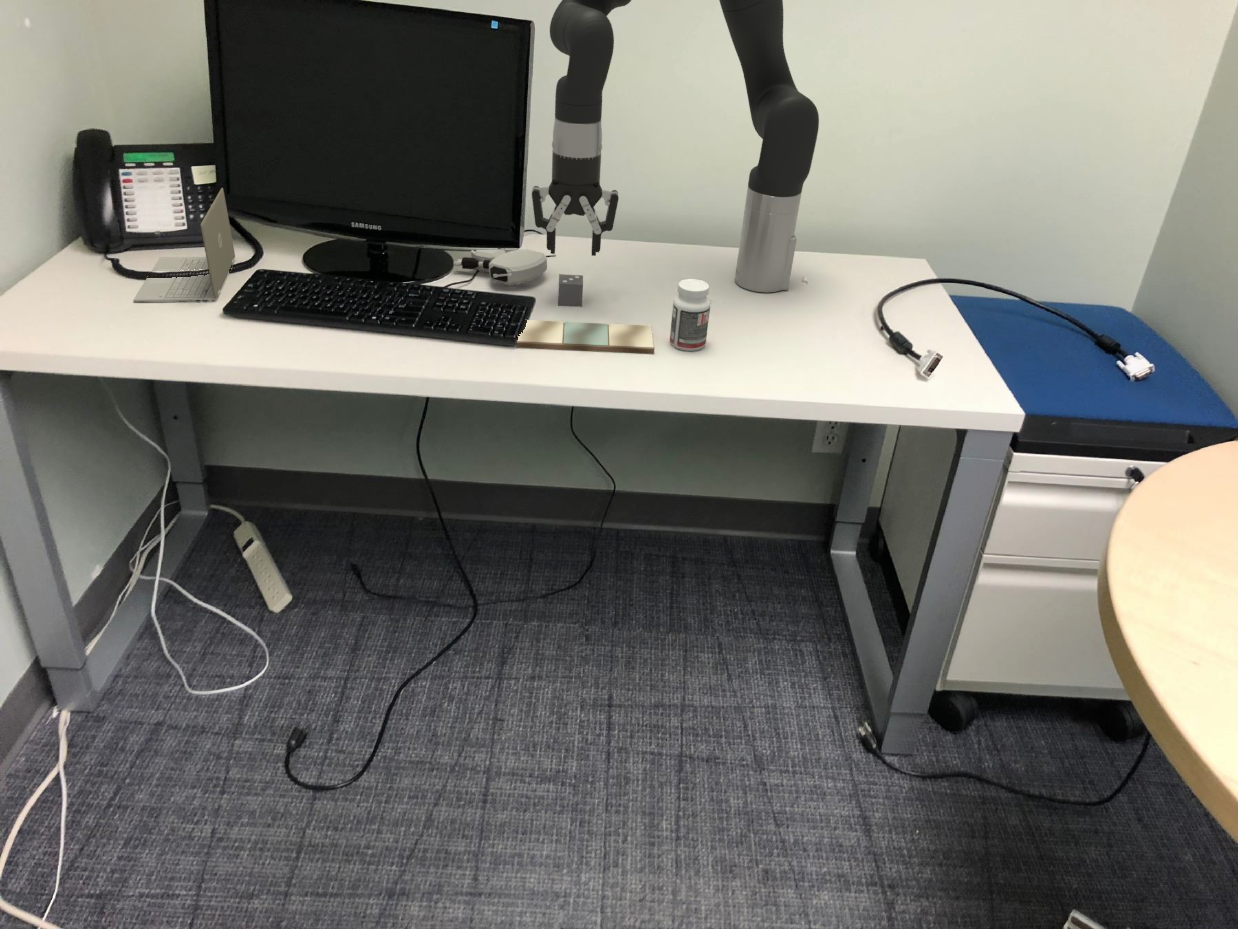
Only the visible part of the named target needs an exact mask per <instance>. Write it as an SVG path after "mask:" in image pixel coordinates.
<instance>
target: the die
mask: <svg viewBox="0 0 1238 929" xmlns="http://www.w3.org/2000/svg"><path fill="white" fill-rule="evenodd" d="M558 275H559V276H558V296H557V307H573V308H574V307H575V308H576V307H577V308H582V307H583V294H584V293H583V292H584V275H583V274H582V275H581V274H558Z"/></svg>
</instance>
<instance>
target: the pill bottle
mask: <svg viewBox="0 0 1238 929" xmlns="http://www.w3.org/2000/svg"><path fill="white" fill-rule="evenodd" d="M677 285H678V286H677V292H678V294H677V295H676V296H675V297H674V299H673V303H672V313H671V322H670V333H669V343H670V344H671V345H672V346H673V347H674V348H675V349H678V350H681V351H684V352H686V351H687V352H694V351H699V350H702V349H703V348H704V347H705V346H706V343H707V336H708V330H709V329H708V327H709V320H710V311H711V301H710V299H709V298H708V295H709V294H710V292H709V291H710V285H709V284H708V283H707V282H706V281H703V280H701V279H696V278H686V279H685V278H684V279H681V280H680V281H679V282H678V284H677Z"/></svg>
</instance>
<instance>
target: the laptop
mask: <svg viewBox="0 0 1238 929" xmlns="http://www.w3.org/2000/svg"><path fill="white" fill-rule="evenodd" d="M224 191H225V190H224V188H223V187H221V188H220V190H219V192H218V193H217V195H216V197H215V198H214V200H213V202H212V203H211V206H210V207H209V209H208V210H207V212H206V214H205V216H204V217H203V219H202V221H201V222H200V223H199V224H200V226H199V227H200V231H201V236H202V241H203V247H204V252H205V256H186V257H185V256H161V257H159V258H158V260H157V261H156V263H155V264H154V266H153V268H152V269H151V271H180V270H181V269H182V270H184V271H186V270H188V269H189V270H193V271H194V269H195V271H196V270H199V269H209V274H207V275H205V276H204V275H198V276H191V277H177V278H176V277H172V278H147V277H146V279H145V281H144V282H143V284H142V285H141V287H140V288H139V290H138V291H137V294H136V295H135V296H134V298H133V299H132V301H133V302H149V303H216V302H217V301H218V300H219V295H221V293H222V290H223V289H224V286H225V284H226V281H227V279H228V277H229V276H230V273H229V269H230V267H231V265H232V266H234V263H235V261H236V253H235V246H234V242H233V241H234V240H233V236H232V232H231V231H232V230H231V225H230V219H229V213H228V207H227V202H226V197H225V192H224ZM182 270H181V271H182Z"/></svg>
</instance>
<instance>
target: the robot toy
mask: <svg viewBox="0 0 1238 929" xmlns="http://www.w3.org/2000/svg"><path fill="white" fill-rule="evenodd" d="M557 256H558V255H557V254H556V253H555V254H549V255H545V253H544V252H540V251H536V250H532V249H528V248H524V249H515V250H510V251H508V252H507V251H506V249H505V250H475V249H472V250H470V257H466V256H464V257H462V259H461V258H457V259H455V260H454V261H453V265H454V266H456V267H460V266H461V268H462V270H474V269H477V271H478V272H482V273H485V274H486V273H489V276H490V278H491V279H492V280H493V281H497V282H500V283H502V284H503V285H505V286H507V287H514V286H517V285H518V284H521V283H525V282H528V281H531V280H534V279H535V280H536V278H538V277H540V276H542V274H544V273H545V272H546V271H547V270H548V269H547V268H548V259H547V258H555V257H557Z"/></svg>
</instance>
